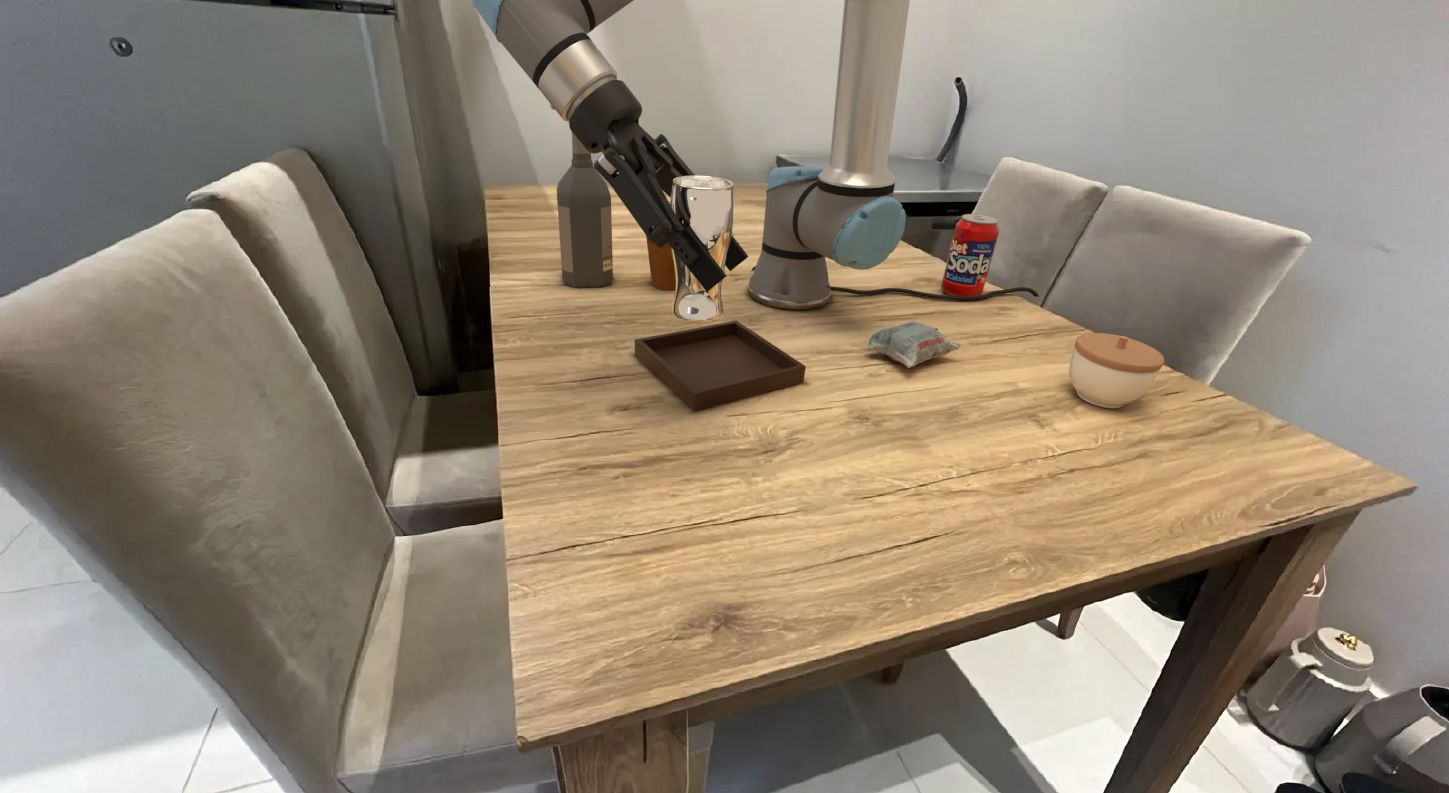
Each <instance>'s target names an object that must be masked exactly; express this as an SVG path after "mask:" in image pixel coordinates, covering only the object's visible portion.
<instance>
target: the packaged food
mask: <svg viewBox="0 0 1449 793" xmlns="http://www.w3.org/2000/svg"><path fill="white" fill-rule="evenodd" d="M961 346H962V344H961V343H960V342H956V341H952V340H950V339H949V338H947V337H946V336H945V335H944V334H943V333H942V332H940V331H939V329H938V327H935V326H931V325H927V324H924V323H920V322H917V321H910V322H907V323H904V324H900V325H897V326H892V327H887V328H885V329H881V330H879V331H876V332H874V333H873V334H872V335H871V337H870V338H869V341H868V344H867V350H868V351H873V350H875V351H877V352H878V353H880V354H881V355H883V356H885V357H886V358H888V359H891V360H893V361H894V362H897V363H899V364H901V365H904V366H905V367H906V368H908V369H909V368H913V367H916V366H917V365H919V364H921V363H924V362H925V361H926V362H927V361H928V362H929V361H930V360H933V359H935V358H938V357H941V356H945V355H948V354H950V353H951V352H955V351H956V350H959V349H961Z"/></svg>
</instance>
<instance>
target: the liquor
mask: <svg viewBox="0 0 1449 793" xmlns="http://www.w3.org/2000/svg"><path fill="white" fill-rule="evenodd" d="M571 146H572V147H571V148H572V158H571V165H570V166H569V168H568V169H567V170H566V172H565V173H564V174H563V176H562V177H561V178H560V179H559V181H558V182H557V185H556V201H557V203H556V204H557V218H558V232H559V247H560V248H559V250H560V262H561V263H560V264H561V278H562V281H563V283H564V285H566V286H568V287H569V286H570V287H573V288H602V287H605V286H608V285H611V283H612V282H613V280H614V269H613V268H614V264H613V262H614V259H613V226H612V225H613V222H612V221H613V220H612V219H613V218H612V195H611V193H610V190H609V186H608V184H607V181H606V180H605V179H604V177H603V176H602V175H601V174H600V173H599V172H598V171H597V170H596V169H595V168H594V166H593V164H594V163H593V160H592V153H590V152H588V151H587V150H586V148H585V147H584V146H583V145H582V143H581V142H580V141H579V140H578V138H577V137H576V136H575V135H574V133H573V132H572V131H571Z"/></svg>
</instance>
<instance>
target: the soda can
mask: <svg viewBox="0 0 1449 793" xmlns="http://www.w3.org/2000/svg"><path fill="white" fill-rule="evenodd" d="M998 223H999V220H998V219H997V218H995V217H992V216H988V215H984V214H974V213H966V214H962V215H961V219H959V221H957V223H955V227H954V230H953V234H952V239H951V243H950V246H949V252H948V256H947V260H946V264H945V268H944V272H943V276H942V280H941V285H940V288H941V290H942V291H943V292H945V294H946V295H949V296H969V297H975V296H979V295H983V291H984V288H985V285H986V281H987V277H988V274H989V270H990V266H991V264H992V259H993V257H994V252H995V249H996V245H997V241H998V238H999V235H1000V228H999V225H998Z"/></svg>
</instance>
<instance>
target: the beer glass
mask: <svg viewBox="0 0 1449 793" xmlns="http://www.w3.org/2000/svg"><path fill="white" fill-rule="evenodd" d="M669 203H670V205H671V207H672V209H673V211H674V212H675V214H676V216H677V218H678V220H679V221H680V223H681V225H682V227H683V229H682V230H681V232H682V231H683V230H684V229H685V228H687V227H689V228H690V230H691V231H692V232H693V233H694V235H695V236H696V237H697V238H698V240H699V241H700V242H701V243H702V245H703V246H704V247H705V249H706V250H707V251H708V252H709V254H710V255H711V256H712V257H713V259H714V260H715V261H716V263H717V264H718V265H719V266H720V268H721V269H722V270H723V271H724V272H725V268H726V266H725V264H726V260H727V256H728V252H729V247H730V242H731V237H732V236H733V229H734V228H733V227H734V226H733V225H734V182H733V181H731V180H729V179H726V178H723V177H719V176H711V175H695V176H681V177H676V178H674V179H672V189H671V198H670V200H669ZM671 249H672V248H671ZM672 256H673V262H674V269H675V276H676V288H675V289H674V291H675V292H674V296H673V300H672V305H671V314H672V316H673V317H675V318H676V319H677V320H680V321H682V322H686V323H692V324H707V323H714V322H716V321H719V320H720V319H722V318H723V316H724V305H723V299H722V283H723V280H722V281H720V282H719V283H718V284H717V285H715V286H714V287H713V288H712V289H710V290H709V291H708V292H706V290H705V289H704V288H703V287H702V285H701V284H700V283H699V281H698V280H697V279H696V278H695V276H694V275H693V274H692V273H691V271H690V270H689V269H688V268H687V266H686V265H685V264H684V263H683V261H682V260H681V259H680V258H679V256H678V255H677V254H676V253H675V251H674V250H673V249H672Z"/></svg>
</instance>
